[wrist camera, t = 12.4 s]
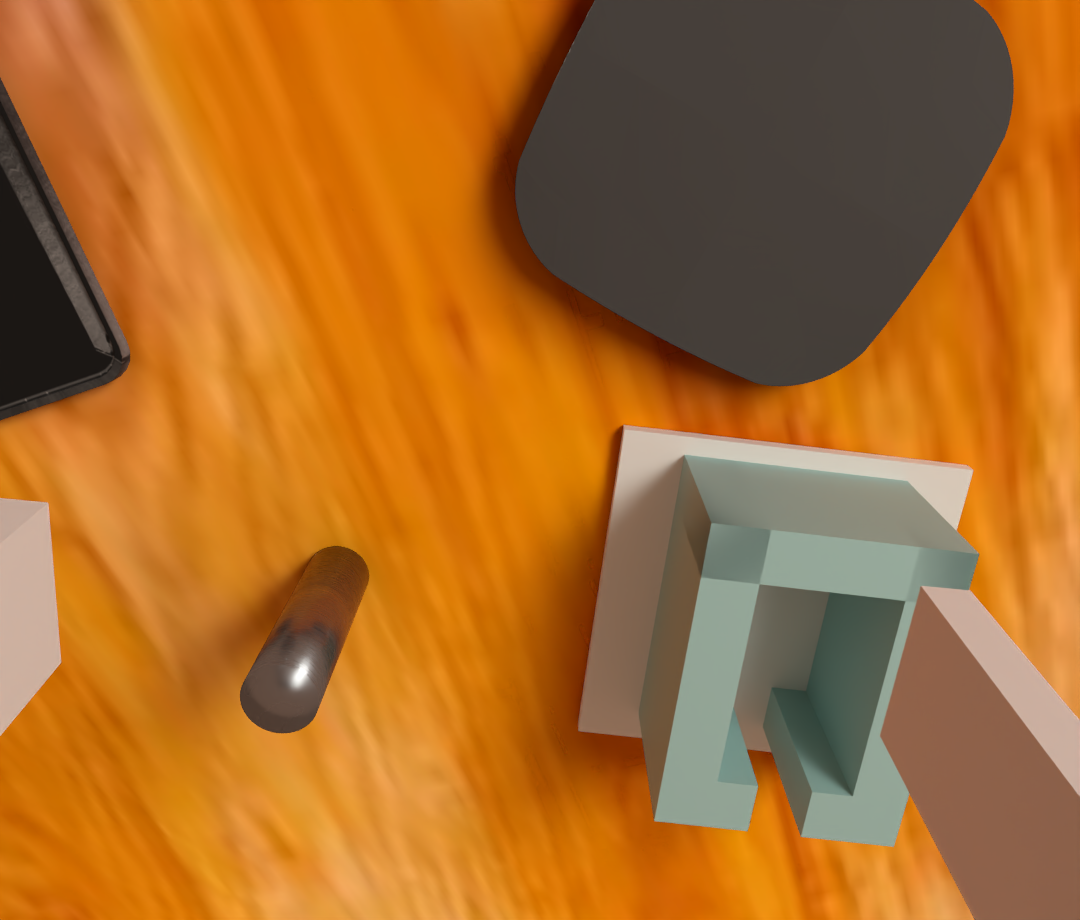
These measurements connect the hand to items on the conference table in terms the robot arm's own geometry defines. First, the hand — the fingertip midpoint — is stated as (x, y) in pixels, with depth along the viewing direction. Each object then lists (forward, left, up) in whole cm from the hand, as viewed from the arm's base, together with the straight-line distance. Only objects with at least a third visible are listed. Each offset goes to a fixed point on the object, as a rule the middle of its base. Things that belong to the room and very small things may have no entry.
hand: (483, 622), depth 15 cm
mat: (+11, +11, -24) cm, 29 cm away
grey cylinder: (+12, -7, -24) cm, 28 cm away
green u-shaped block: (+11, +11, -24) cm, 28 cm away
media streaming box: (-7, +7, -25) cm, 27 cm away
